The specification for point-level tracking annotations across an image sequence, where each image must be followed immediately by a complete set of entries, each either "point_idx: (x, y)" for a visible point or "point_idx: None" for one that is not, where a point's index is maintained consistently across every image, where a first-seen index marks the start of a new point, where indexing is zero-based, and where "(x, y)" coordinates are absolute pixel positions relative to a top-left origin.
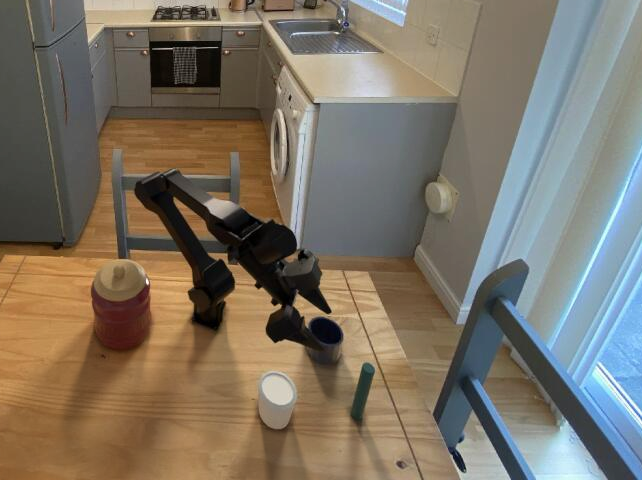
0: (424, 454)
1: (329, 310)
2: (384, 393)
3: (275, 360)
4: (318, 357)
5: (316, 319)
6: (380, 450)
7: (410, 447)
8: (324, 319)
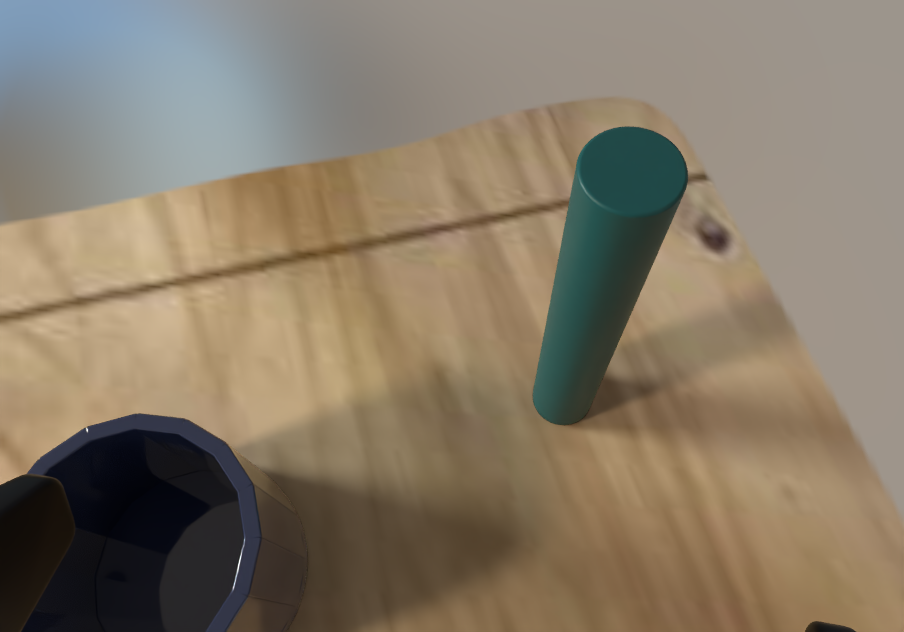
0: None
1: (29, 506)
2: (402, 259)
3: None
4: (291, 602)
5: None
6: (693, 307)
7: None
8: None
